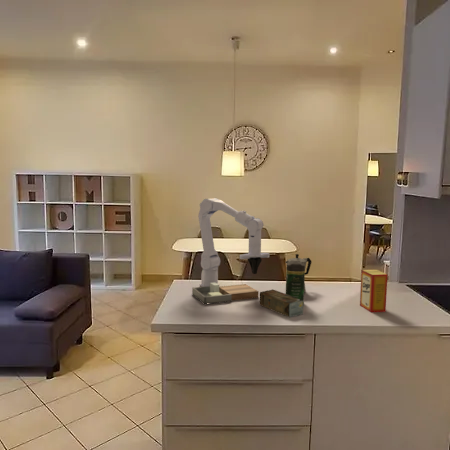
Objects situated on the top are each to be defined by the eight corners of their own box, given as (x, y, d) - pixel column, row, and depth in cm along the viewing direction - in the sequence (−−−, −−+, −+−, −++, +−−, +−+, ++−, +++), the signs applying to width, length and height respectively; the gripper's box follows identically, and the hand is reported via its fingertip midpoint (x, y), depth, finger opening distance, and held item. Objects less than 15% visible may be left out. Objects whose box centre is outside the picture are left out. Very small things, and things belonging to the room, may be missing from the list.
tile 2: (218, 291, 189) (218, 297, 189) (207, 292, 187) (207, 298, 187) (222, 294, 184) (222, 300, 184) (211, 295, 182) (211, 301, 182)
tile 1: (214, 292, 196) (209, 293, 195) (214, 282, 195) (209, 282, 194) (219, 295, 192) (214, 296, 190) (219, 284, 191) (214, 285, 190)
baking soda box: (385, 311, 173) (387, 273, 171) (370, 312, 172) (372, 274, 170) (373, 304, 182) (375, 268, 180) (359, 305, 181) (361, 269, 179)
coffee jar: (304, 306, 178) (306, 263, 176) (285, 306, 179) (286, 263, 177) (302, 300, 188) (303, 259, 186) (284, 299, 188) (285, 258, 186)
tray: (192, 294, 195) (192, 287, 195) (217, 292, 200) (217, 285, 200) (204, 304, 180) (204, 297, 179) (231, 301, 184) (231, 294, 184)
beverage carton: (289, 318, 164) (289, 301, 163) (258, 305, 180) (258, 290, 179) (303, 314, 168) (304, 298, 168) (272, 302, 184) (272, 288, 184)
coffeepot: (290, 294, 197) (292, 256, 195) (279, 289, 205) (280, 253, 203) (316, 290, 204) (317, 254, 202) (304, 286, 212) (305, 251, 210)
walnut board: (218, 292, 198) (218, 286, 198) (245, 290, 204) (245, 284, 203) (230, 300, 186) (230, 294, 185) (258, 297, 191) (258, 291, 191)
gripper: (244, 246, 188) (243, 276, 190) (272, 245, 193) (272, 274, 195) (237, 244, 195) (237, 273, 196) (265, 243, 200) (265, 271, 201)
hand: (254, 273), depth 196 cm, fingers closed
